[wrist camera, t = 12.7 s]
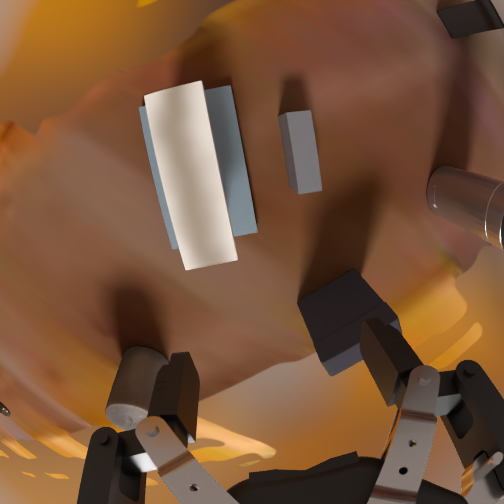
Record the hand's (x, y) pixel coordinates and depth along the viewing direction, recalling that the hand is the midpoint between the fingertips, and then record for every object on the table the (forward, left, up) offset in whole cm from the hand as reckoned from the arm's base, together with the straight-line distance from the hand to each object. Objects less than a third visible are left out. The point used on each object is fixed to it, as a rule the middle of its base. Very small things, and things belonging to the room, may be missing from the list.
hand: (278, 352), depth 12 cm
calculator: (-11, +17, -29) cm, 35 cm away
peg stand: (+5, -6, -28) cm, 29 cm away
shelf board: (+4, -6, -20) cm, 21 cm away
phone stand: (-46, -31, -29) cm, 63 cm away
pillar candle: (+24, +26, -29) cm, 45 cm away
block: (-8, -6, -28) cm, 30 cm away
